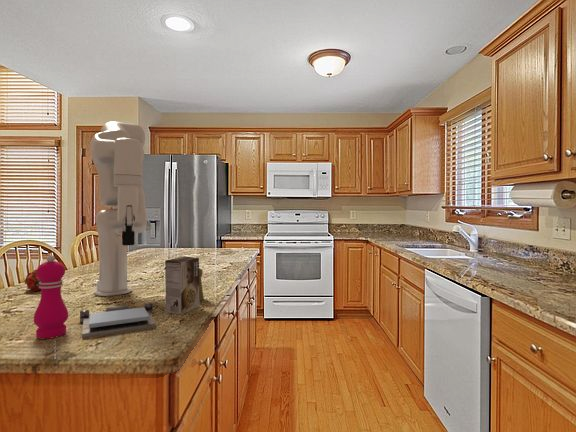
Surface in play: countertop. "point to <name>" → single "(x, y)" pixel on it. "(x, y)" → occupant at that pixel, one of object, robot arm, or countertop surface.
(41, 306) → the pepper mill
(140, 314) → the panel
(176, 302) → the coffee box
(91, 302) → the countertop surface
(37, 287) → the dragon fruit
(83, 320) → the hinge base
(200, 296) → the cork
